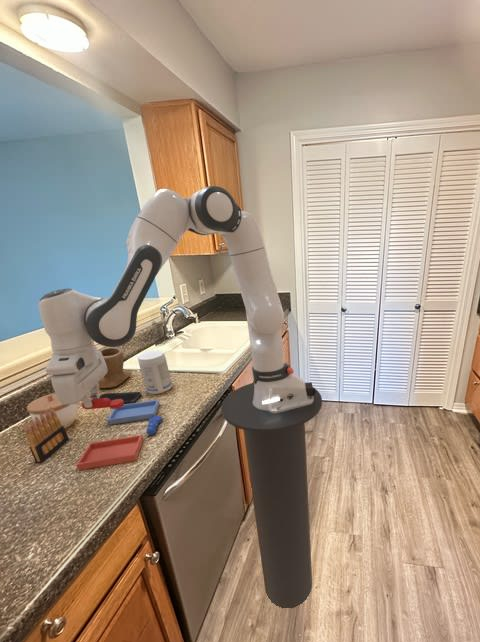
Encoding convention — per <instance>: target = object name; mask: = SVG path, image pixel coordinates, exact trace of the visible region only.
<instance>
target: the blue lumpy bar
mask: <svg viewBox="0 0 480 642" xmlns="http://www.w3.org/2000/svg"><path fill="white" fill-rule="evenodd" d="M148 420H149V422H148V425H147V426H146V430H145V431H146V434H147V435H149V436H153V435H155V434H156V431H157V429H158V425H159V424H161V423H162V422H163V419H162V416H160V415H156V416H155V417H152V418H151V419H148Z"/></svg>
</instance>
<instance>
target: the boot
mask: <svg viewBox="0 0 480 642" xmlns="http://www.w3.org/2000/svg"><path fill="white" fill-rule="evenodd" d="M99 351H100V352H101V353H102V355H103V358H104V360H105V363H106V365H107V374H106V375H105V376H104V377H103V378H102V379H101V380H100V381H99V382H98V384H99V389H111V388H115V387H118V386H119V385H121V384H122V383H123V382H124V381H126V380H127V379H128V378H130V376H131V375H132V371H129V370H128V369H125V368H124V363H125V356H124V353H123V350H122V349H121V348H118V347H105V348H101V349H99Z"/></svg>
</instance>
